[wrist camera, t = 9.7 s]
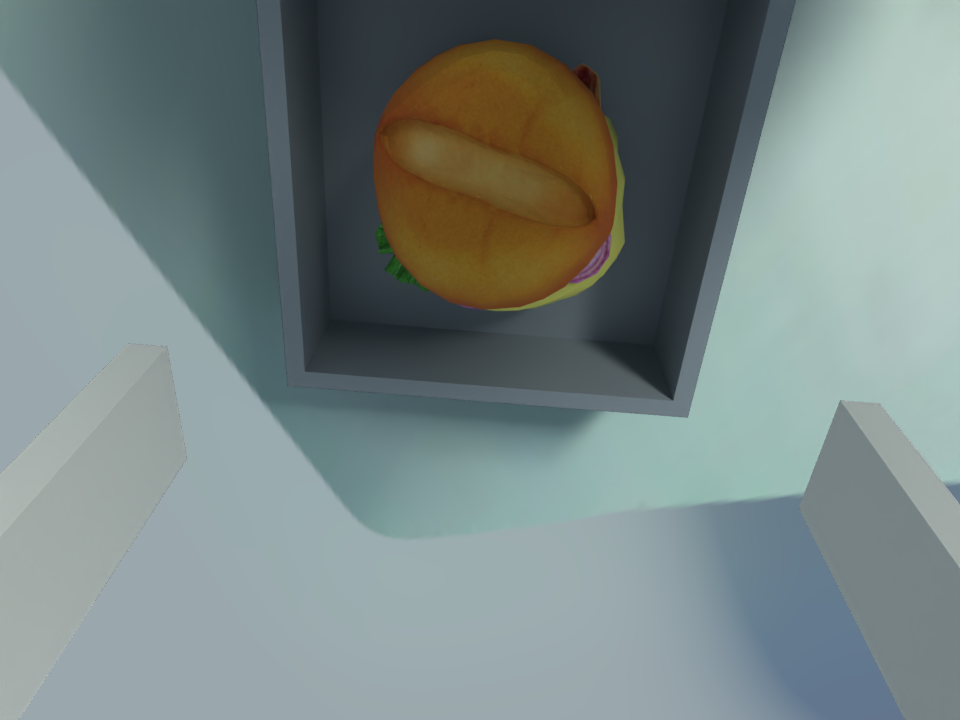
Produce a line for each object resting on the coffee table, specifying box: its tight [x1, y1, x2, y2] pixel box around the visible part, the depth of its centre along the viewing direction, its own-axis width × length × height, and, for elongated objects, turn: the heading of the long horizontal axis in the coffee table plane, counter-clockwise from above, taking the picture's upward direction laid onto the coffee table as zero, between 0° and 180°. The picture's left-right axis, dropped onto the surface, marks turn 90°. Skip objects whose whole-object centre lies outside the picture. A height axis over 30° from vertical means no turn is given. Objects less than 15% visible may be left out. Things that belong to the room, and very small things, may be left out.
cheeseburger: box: [373, 39, 625, 311], centre depth 28 cm, size 10×11×10 cm
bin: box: [256, 0, 795, 418], centre depth 29 cm, size 18×18×6 cm
